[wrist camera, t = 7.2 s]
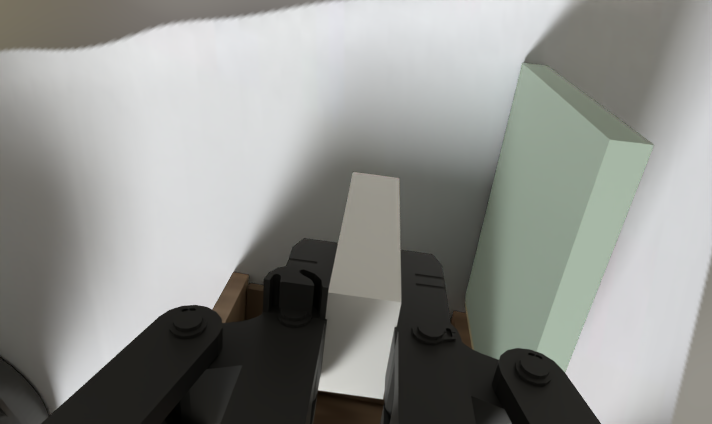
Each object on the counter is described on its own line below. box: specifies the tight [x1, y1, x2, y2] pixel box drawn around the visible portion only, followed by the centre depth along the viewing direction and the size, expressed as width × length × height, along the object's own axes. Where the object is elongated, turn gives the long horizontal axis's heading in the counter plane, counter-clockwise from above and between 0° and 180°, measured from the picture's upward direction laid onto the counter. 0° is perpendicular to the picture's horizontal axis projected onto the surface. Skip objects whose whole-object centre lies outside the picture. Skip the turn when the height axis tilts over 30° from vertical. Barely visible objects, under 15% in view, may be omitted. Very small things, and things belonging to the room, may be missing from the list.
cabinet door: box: [465, 63, 654, 372], centre depth 22 cm, size 15×2×12 cm, turn 174°
